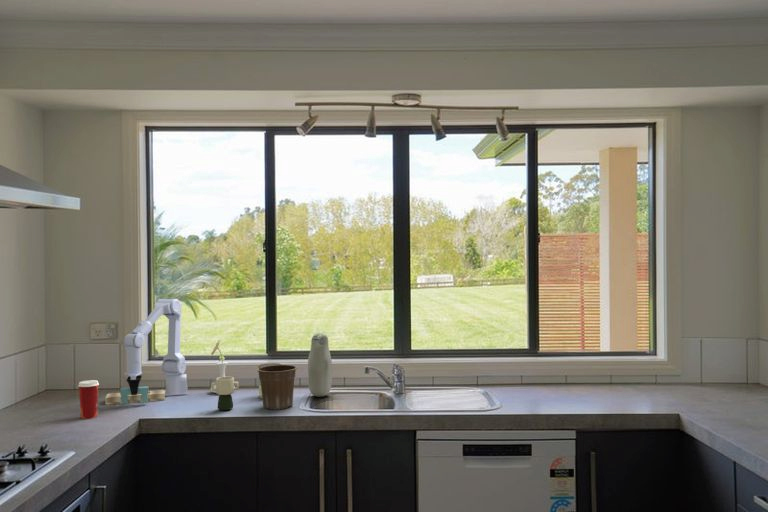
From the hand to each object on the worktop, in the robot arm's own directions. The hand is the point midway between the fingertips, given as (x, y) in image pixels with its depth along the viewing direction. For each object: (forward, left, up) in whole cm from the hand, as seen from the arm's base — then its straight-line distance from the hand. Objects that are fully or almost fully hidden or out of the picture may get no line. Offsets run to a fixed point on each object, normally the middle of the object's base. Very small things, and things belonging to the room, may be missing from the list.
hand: (134, 393), depth 274 cm
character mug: (-36, +22, -5) cm, 43 cm away
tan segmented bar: (0, -11, -5) cm, 12 cm away
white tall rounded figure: (-78, +11, -5) cm, 79 cm away
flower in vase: (-37, -13, -5) cm, 40 cm away
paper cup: (+16, +15, -5) cm, 23 cm away
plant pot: (-57, +24, -5) cm, 62 cm away
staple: (0, 0, -4) cm, 4 cm away
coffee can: (-57, +3, -5) cm, 57 cm away
